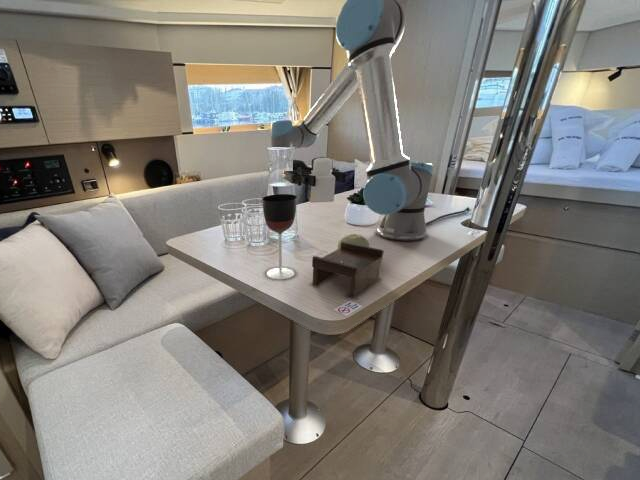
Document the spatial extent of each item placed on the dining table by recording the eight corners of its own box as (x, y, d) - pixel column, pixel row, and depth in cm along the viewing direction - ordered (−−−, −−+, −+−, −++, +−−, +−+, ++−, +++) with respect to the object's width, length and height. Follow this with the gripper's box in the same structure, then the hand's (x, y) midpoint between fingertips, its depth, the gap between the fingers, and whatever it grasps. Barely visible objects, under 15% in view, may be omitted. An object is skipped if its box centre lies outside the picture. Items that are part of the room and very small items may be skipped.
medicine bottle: (307, 198, 101) (308, 157, 95) (330, 197, 100) (332, 155, 94) (309, 203, 94) (311, 159, 89) (333, 202, 94) (336, 158, 88)
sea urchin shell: (349, 253, 91) (341, 228, 93) (338, 264, 98) (331, 241, 100) (377, 248, 93) (368, 224, 95) (364, 259, 100) (356, 237, 102)
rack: (340, 267, 87) (342, 241, 84) (379, 277, 80) (383, 250, 77) (311, 285, 79) (312, 257, 75) (352, 298, 72) (355, 268, 68)
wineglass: (258, 274, 86) (255, 199, 76) (280, 264, 91) (279, 192, 81) (280, 282, 81) (279, 203, 71) (302, 272, 86) (303, 196, 76)
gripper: (320, 179, 114) (360, 188, 96) (265, 186, 108) (295, 197, 89) (321, 156, 110) (362, 161, 92) (264, 162, 104) (295, 169, 85)
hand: (329, 179), depth 90 cm, fingers closed on medicine bottle, 9 cm apart
